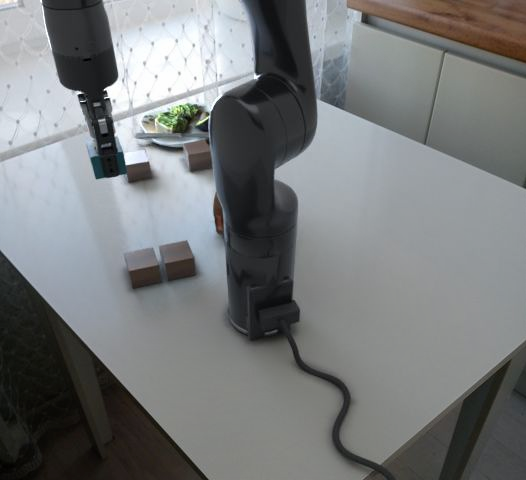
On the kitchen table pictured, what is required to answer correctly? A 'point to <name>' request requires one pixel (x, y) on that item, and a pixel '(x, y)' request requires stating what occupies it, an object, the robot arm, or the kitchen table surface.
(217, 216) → the tin
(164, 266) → the brown wooden block pair
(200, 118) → the salad plate
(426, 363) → the kitchen table surface
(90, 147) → the letter S
